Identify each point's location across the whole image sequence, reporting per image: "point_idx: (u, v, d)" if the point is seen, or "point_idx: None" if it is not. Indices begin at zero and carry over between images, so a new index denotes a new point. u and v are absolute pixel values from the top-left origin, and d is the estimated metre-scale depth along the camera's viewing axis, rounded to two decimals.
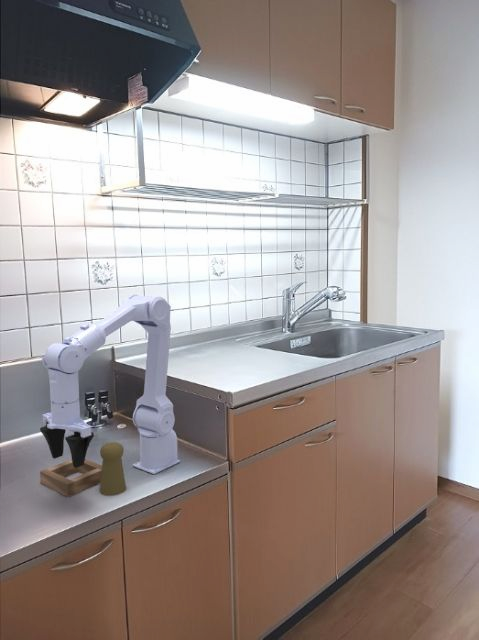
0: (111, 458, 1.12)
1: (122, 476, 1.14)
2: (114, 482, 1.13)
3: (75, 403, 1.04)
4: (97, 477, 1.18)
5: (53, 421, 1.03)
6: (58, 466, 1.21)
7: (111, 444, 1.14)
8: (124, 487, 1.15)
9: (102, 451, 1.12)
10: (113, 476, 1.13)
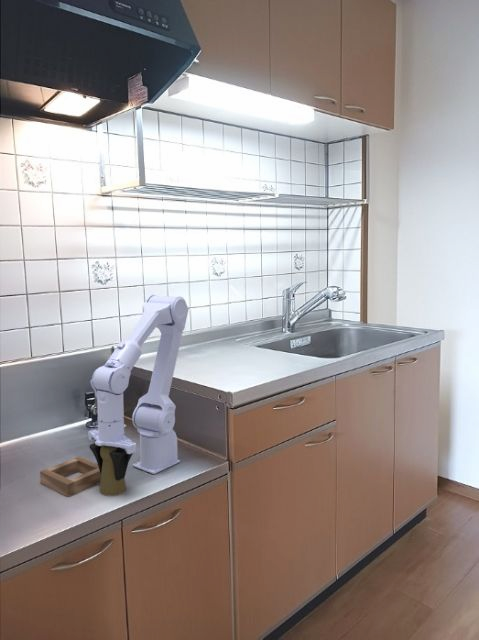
0: None
1: None
2: (114, 482, 1.13)
3: (121, 422, 1.12)
4: (97, 477, 1.18)
5: (100, 438, 1.12)
6: (58, 466, 1.21)
7: None
8: (124, 487, 1.15)
9: (102, 451, 1.12)
10: (113, 476, 1.13)
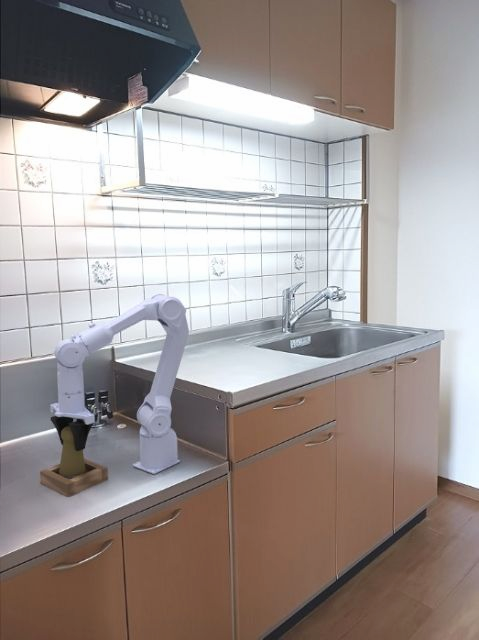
0: (70, 439, 1.15)
1: (81, 459, 1.17)
2: (71, 464, 1.16)
3: (80, 394, 1.15)
4: (97, 477, 1.18)
5: (60, 410, 1.15)
6: (58, 466, 1.21)
7: None
8: (82, 470, 1.18)
9: (62, 432, 1.16)
10: (72, 457, 1.16)
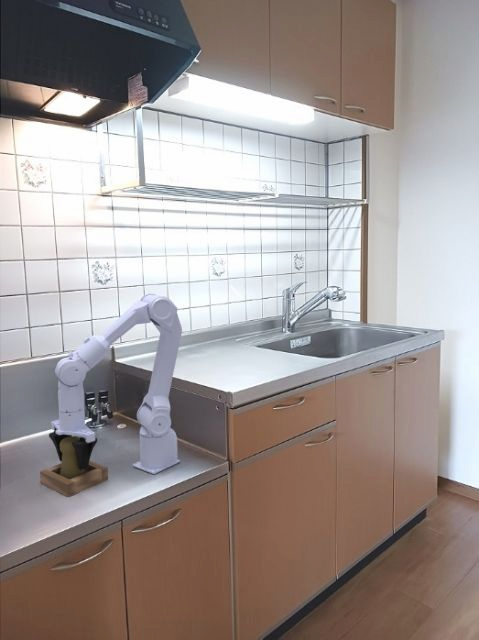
0: (69, 451, 1.15)
1: (80, 470, 1.18)
2: (71, 475, 1.16)
3: (81, 412, 1.16)
4: (97, 477, 1.18)
5: (61, 428, 1.15)
6: (58, 466, 1.21)
7: (70, 438, 1.17)
8: None
9: (61, 444, 1.16)
10: (71, 469, 1.16)
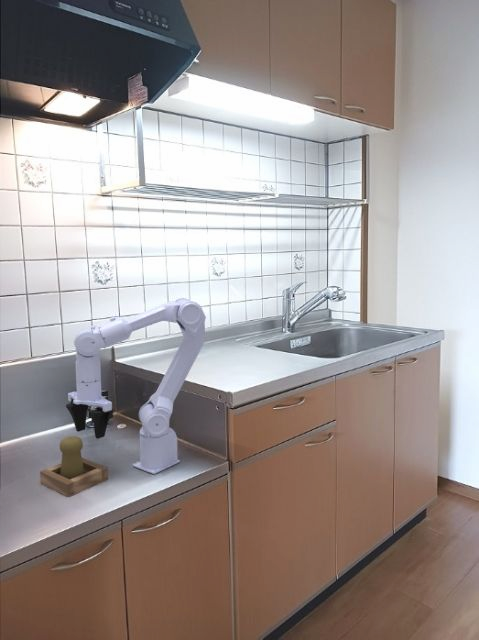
0: (69, 451, 1.15)
1: (80, 469, 1.18)
2: (71, 475, 1.16)
3: (97, 382, 1.19)
4: (97, 477, 1.18)
5: (78, 398, 1.18)
6: (58, 466, 1.21)
7: (70, 438, 1.17)
8: None
9: (61, 444, 1.16)
10: (71, 469, 1.16)
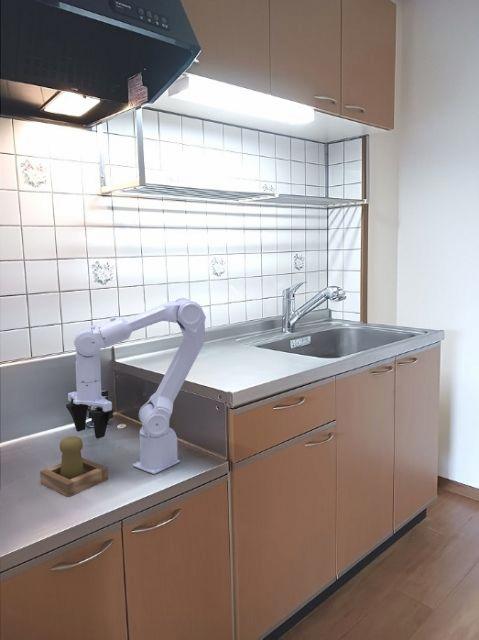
0: (69, 451, 1.15)
1: (80, 469, 1.18)
2: (71, 475, 1.16)
3: (97, 382, 1.19)
4: (97, 477, 1.18)
5: (78, 398, 1.18)
6: (58, 466, 1.21)
7: (70, 438, 1.17)
8: None
9: (61, 444, 1.16)
10: (71, 469, 1.16)
